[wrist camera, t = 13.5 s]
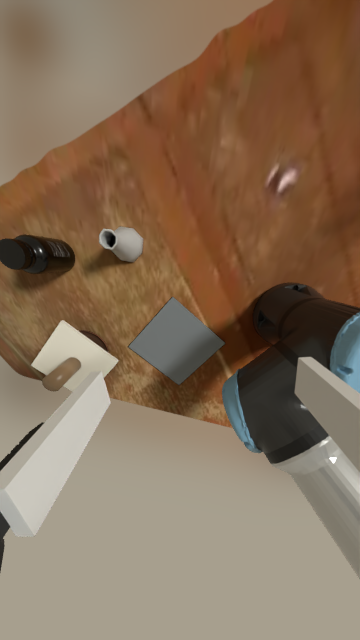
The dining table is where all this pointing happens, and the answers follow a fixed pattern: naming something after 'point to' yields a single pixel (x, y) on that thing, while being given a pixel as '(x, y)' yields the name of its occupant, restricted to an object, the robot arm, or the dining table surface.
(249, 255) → the dining table surface
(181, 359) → the mat
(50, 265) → the supplement bottle
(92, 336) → the cup and saucer
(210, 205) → the dining table surface
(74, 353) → the board
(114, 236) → the flask
